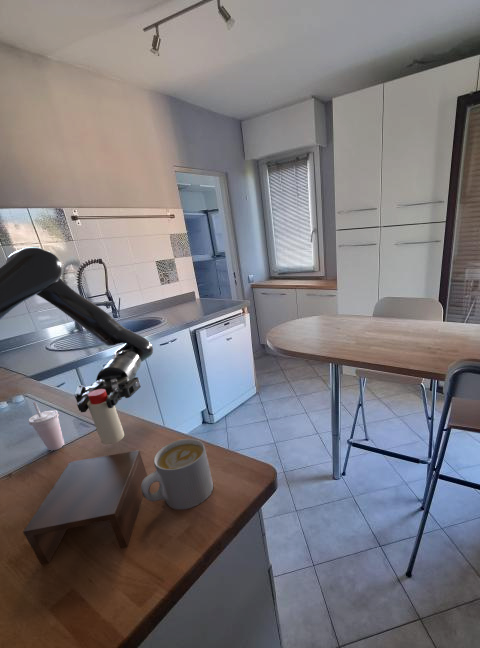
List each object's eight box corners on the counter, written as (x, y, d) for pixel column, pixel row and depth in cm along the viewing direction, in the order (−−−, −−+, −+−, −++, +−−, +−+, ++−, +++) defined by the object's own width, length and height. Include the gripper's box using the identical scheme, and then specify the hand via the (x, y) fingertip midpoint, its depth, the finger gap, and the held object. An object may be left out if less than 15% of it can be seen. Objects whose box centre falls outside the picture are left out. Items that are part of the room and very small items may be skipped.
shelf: (41, 565, 57) (22, 531, 54) (82, 491, 74) (69, 462, 70) (127, 546, 60) (114, 513, 56) (148, 478, 76) (139, 450, 73)
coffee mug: (206, 469, 77) (197, 433, 73) (219, 495, 69) (210, 456, 65) (144, 493, 72) (132, 455, 68) (151, 525, 64) (137, 485, 60)
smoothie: (36, 451, 89) (15, 405, 83) (60, 437, 94) (41, 394, 89) (52, 455, 86) (31, 409, 81) (75, 441, 92) (57, 396, 86)
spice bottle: (98, 446, 74) (80, 399, 69) (105, 434, 79) (88, 389, 74) (121, 442, 75) (104, 395, 70) (126, 430, 79) (111, 385, 75)
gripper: (83, 365, 83) (51, 396, 68) (144, 356, 85) (126, 385, 70) (93, 391, 86) (64, 427, 71) (151, 383, 88) (135, 416, 73)
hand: (95, 406), depth 70 cm, fingers closed on spice bottle, 4 cm apart
